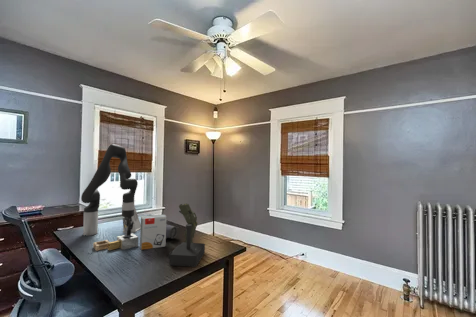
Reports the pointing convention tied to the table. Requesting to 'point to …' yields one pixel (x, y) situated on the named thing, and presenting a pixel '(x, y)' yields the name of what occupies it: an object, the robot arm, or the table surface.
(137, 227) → the phone holder
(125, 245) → the socket block
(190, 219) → the olive green upright piece
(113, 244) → the bar
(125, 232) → the grey metal cylinder
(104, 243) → the wooden square frame
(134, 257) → the table surface
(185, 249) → the joystick
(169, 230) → the bluetooth speaker
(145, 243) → the hard drive box
